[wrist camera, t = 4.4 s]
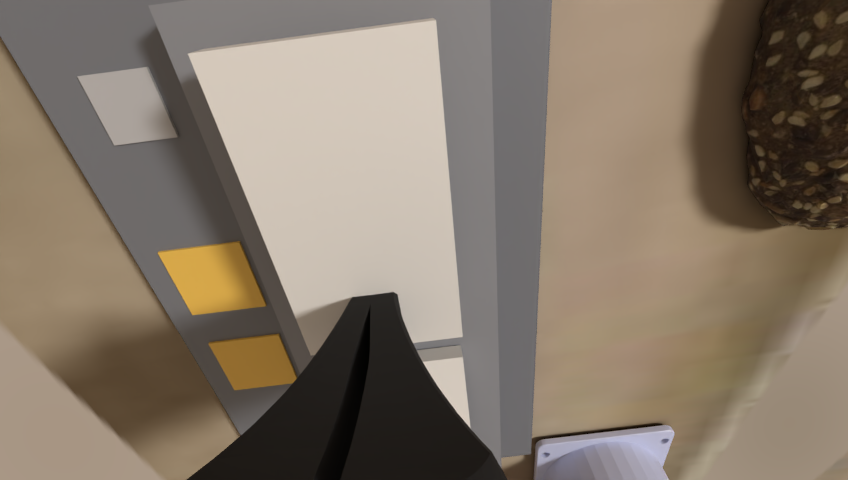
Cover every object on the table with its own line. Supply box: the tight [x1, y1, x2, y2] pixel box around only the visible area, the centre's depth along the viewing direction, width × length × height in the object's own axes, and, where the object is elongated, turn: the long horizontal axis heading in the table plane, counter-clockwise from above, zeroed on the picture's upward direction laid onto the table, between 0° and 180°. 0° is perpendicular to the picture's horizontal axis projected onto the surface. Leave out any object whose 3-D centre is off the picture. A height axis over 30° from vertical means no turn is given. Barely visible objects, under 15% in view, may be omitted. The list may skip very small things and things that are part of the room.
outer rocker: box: [188, 18, 463, 355], centre depth 11 cm, size 9×5×1 cm, turn 7°
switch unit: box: [0, 0, 552, 467], centre depth 16 cm, size 24×15×2 cm, turn 7°
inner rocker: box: [417, 345, 471, 429], centre depth 16 cm, size 9×5×1 cm, turn 6°
